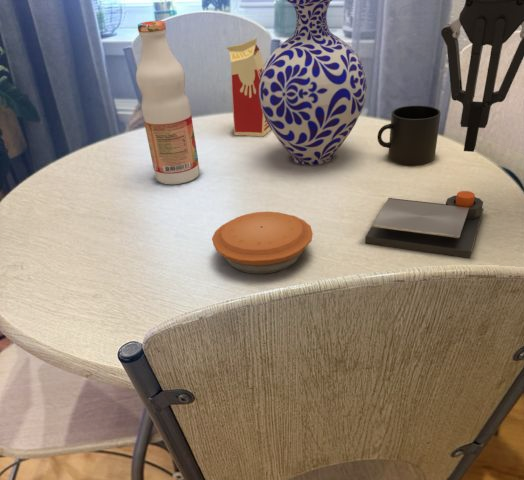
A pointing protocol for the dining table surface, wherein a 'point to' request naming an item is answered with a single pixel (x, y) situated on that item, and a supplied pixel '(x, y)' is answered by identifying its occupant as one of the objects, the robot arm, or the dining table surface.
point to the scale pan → (422, 218)
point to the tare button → (465, 199)
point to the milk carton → (247, 89)
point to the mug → (412, 134)
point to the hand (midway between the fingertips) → (469, 148)
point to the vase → (312, 87)
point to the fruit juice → (165, 108)
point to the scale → (433, 242)
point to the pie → (262, 241)
